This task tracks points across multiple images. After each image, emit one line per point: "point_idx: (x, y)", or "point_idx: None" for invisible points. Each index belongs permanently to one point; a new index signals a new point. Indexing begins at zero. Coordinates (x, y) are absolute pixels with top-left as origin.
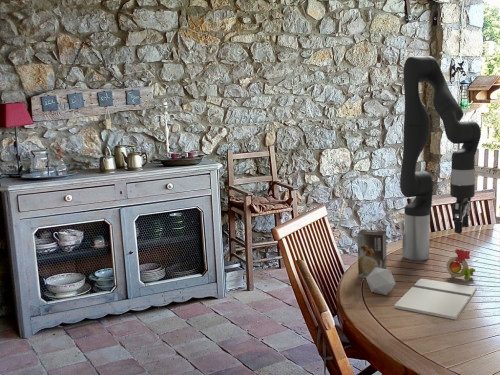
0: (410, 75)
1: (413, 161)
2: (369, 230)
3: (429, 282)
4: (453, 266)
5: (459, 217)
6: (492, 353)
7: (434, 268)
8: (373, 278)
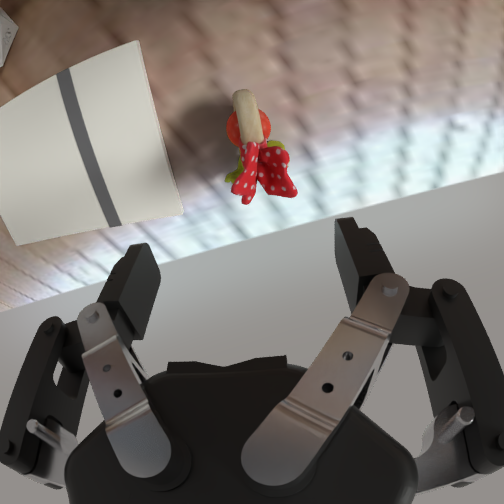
0: None
1: None
2: None
3: (119, 85)
4: (227, 126)
5: (62, 380)
6: (7, 307)
7: (306, 14)
8: None
